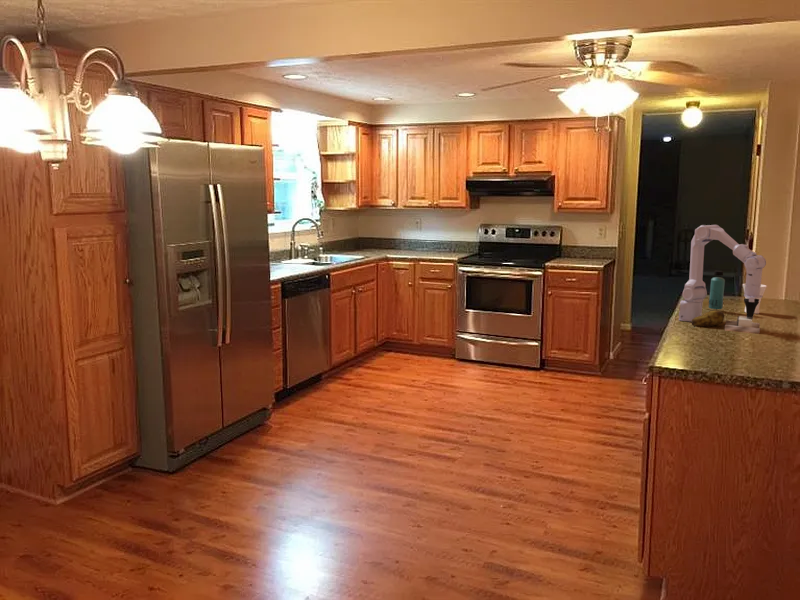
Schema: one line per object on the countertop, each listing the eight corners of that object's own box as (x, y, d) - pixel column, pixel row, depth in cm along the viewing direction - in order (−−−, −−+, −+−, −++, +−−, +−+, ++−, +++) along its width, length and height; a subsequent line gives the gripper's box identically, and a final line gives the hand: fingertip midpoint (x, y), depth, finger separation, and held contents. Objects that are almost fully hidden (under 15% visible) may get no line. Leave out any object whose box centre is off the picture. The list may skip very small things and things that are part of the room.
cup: (763, 315, 319) (766, 287, 316) (738, 313, 324) (741, 285, 322) (764, 311, 328) (767, 284, 325) (741, 309, 333) (743, 282, 331)
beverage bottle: (721, 310, 331) (725, 270, 327) (723, 312, 325) (727, 271, 321) (707, 309, 333) (710, 269, 330) (708, 311, 327) (712, 271, 323)
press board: (724, 332, 282) (724, 325, 281) (725, 326, 294) (726, 319, 293) (759, 336, 276) (759, 329, 275) (759, 329, 288) (759, 322, 287)
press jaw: (736, 329, 282) (738, 309, 280) (736, 325, 290) (738, 306, 288) (751, 331, 279) (753, 311, 278) (751, 327, 287) (753, 307, 285)
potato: (690, 324, 297) (692, 307, 296) (722, 327, 292) (724, 309, 291) (691, 328, 290) (692, 310, 288) (723, 331, 285) (725, 312, 283)
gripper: (764, 287, 272) (760, 320, 274) (763, 282, 285) (760, 314, 287) (744, 286, 275) (741, 318, 278) (745, 281, 288) (742, 312, 290)
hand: (749, 316), depth 283 cm, fingers closed on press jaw, 2 cm apart
